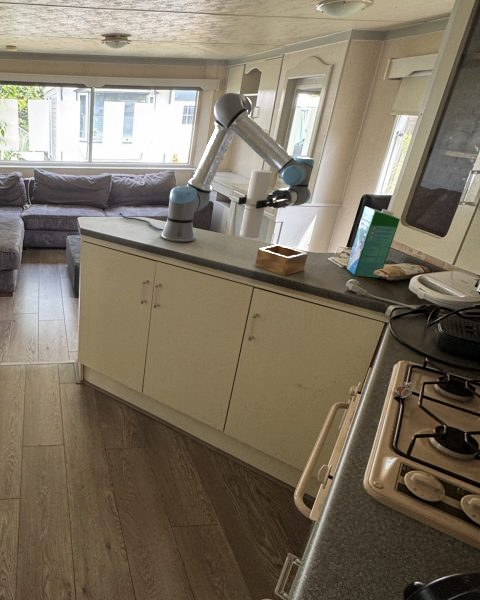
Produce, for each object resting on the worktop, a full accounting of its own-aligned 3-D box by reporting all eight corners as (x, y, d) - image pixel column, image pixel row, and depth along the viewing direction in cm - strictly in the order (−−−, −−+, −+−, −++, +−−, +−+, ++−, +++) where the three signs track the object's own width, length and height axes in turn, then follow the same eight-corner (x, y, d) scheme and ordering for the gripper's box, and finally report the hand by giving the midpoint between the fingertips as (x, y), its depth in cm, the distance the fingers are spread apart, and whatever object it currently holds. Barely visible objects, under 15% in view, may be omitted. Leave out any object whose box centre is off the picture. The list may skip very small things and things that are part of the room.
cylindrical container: (256, 239, 167) (270, 172, 157) (237, 235, 171) (250, 171, 161) (260, 235, 173) (273, 171, 163) (242, 232, 176) (254, 169, 166)
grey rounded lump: (403, 392, 95) (410, 377, 93) (411, 399, 92) (418, 383, 91) (390, 392, 94) (397, 377, 93) (398, 399, 92) (404, 383, 91)
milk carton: (379, 278, 163) (402, 212, 153) (354, 275, 165) (374, 210, 155) (370, 270, 171) (391, 207, 161) (345, 267, 173) (365, 205, 163)
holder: (254, 265, 171) (258, 248, 168) (273, 260, 178) (277, 244, 175) (284, 275, 161) (289, 258, 159) (303, 270, 168) (308, 253, 165)
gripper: (303, 212, 170) (269, 218, 158) (259, 202, 185) (224, 207, 173) (308, 193, 167) (273, 197, 155) (262, 185, 182) (228, 188, 170)
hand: (248, 202), depth 164 cm, fingers closed on cylindrical container, 7 cm apart
